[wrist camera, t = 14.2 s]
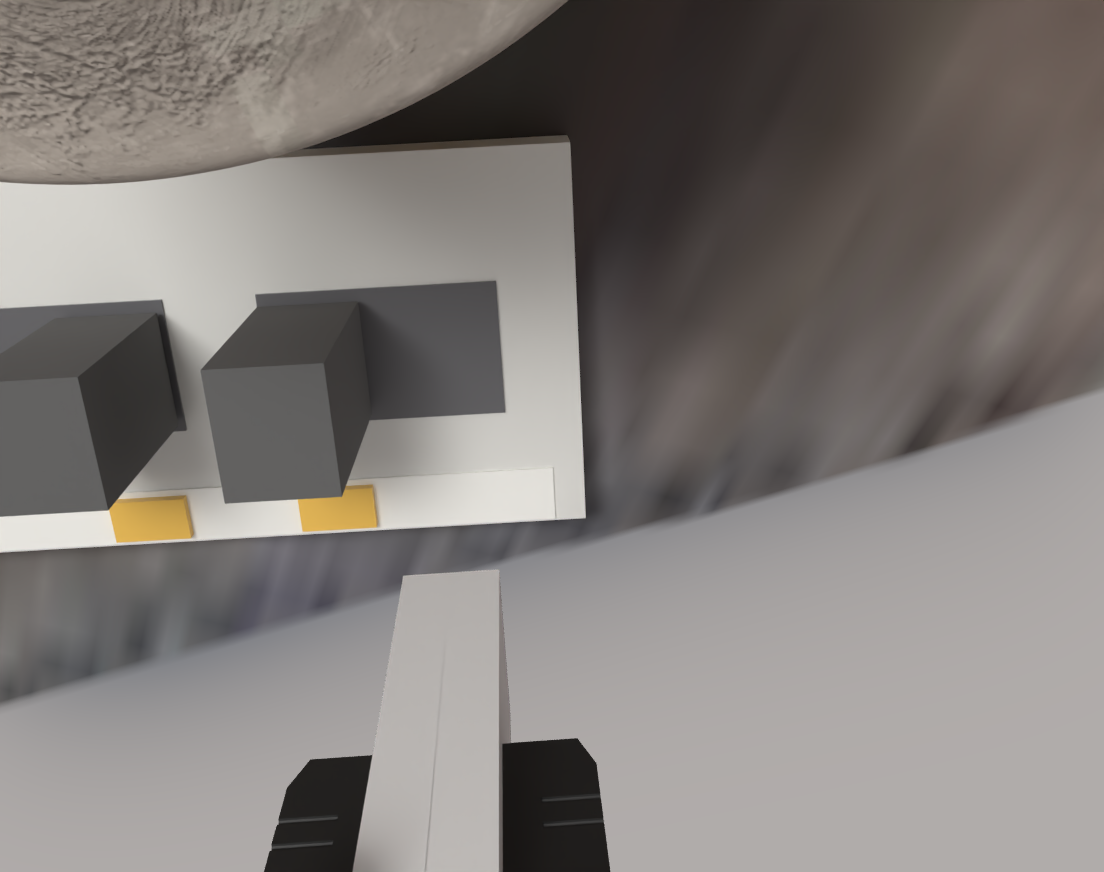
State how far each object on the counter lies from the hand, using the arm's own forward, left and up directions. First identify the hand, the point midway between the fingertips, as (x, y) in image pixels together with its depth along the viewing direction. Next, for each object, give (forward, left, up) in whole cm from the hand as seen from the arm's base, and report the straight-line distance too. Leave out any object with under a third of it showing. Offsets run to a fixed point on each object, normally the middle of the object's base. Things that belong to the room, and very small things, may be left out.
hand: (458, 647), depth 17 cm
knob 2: (-8, -8, -16) cm, 20 cm away
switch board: (-9, -9, -19) cm, 23 cm away
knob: (-4, -4, -16) cm, 17 cm away
